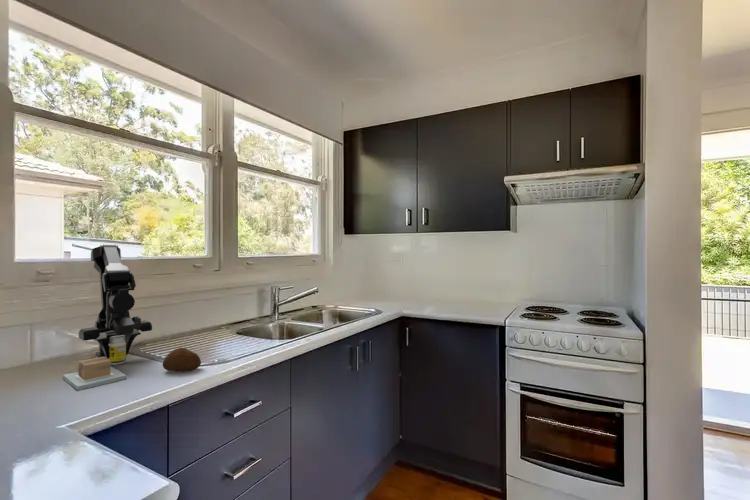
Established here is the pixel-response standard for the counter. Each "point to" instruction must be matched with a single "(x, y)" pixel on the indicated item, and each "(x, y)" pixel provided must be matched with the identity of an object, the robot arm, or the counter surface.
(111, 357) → the supplement bottle
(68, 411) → the counter surface
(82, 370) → the walnut block
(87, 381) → the build board
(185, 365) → the potato
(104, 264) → the robot arm
